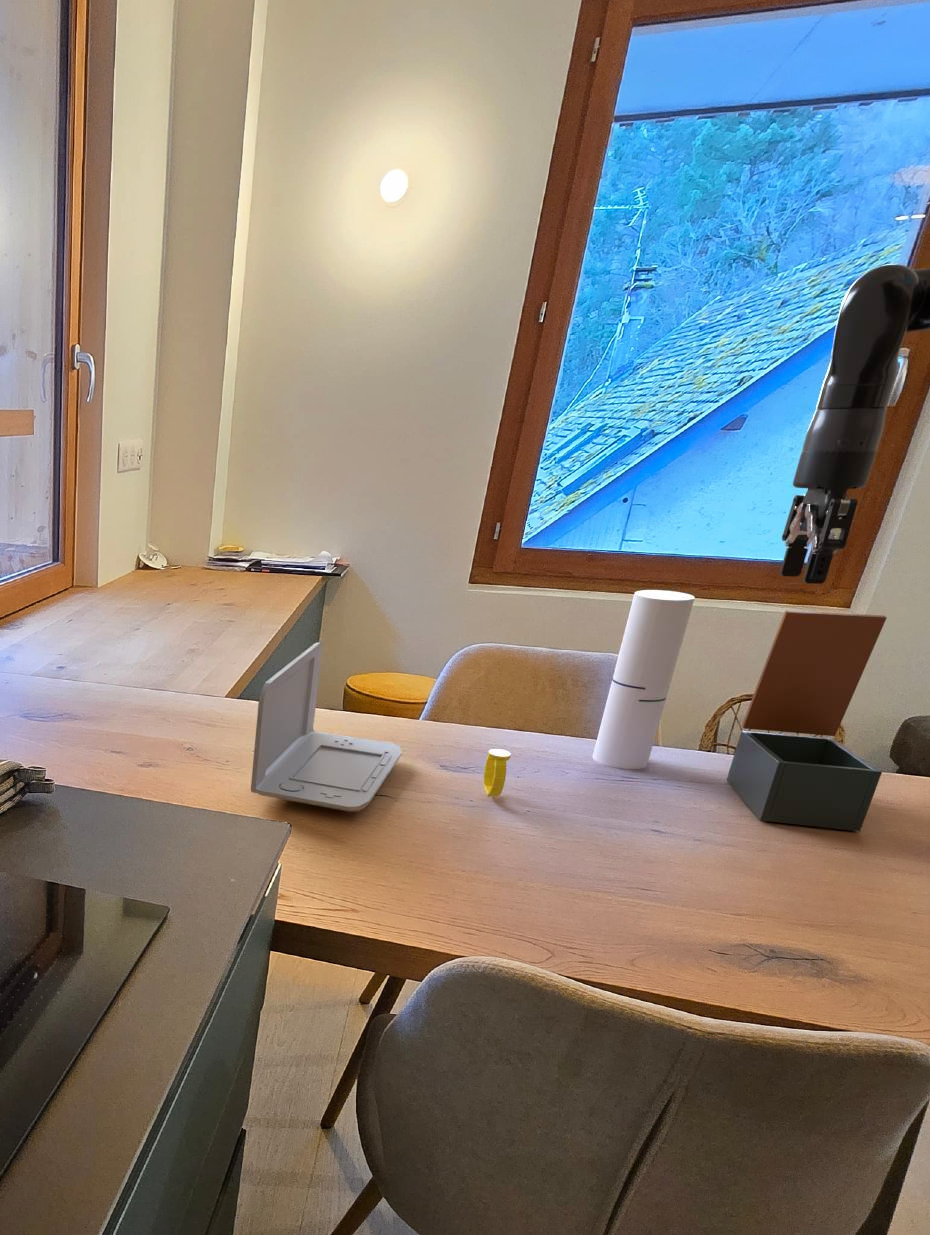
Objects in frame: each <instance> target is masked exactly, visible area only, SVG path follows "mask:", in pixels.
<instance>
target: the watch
mask: <svg viewBox="0 0 930 1235" xmlns="http://www.w3.org/2000/svg"><path fill="white" fill-rule="evenodd" d="M511 755H512V754H511V752H510V751H508V750H505V749H502V748H501V749H500V748H491V749H489V750H488V751H487V758H486V760H485V765H484V771H483V786H482V787H483V788H484V791H485V793H486V796H487V797H499V796H500V795H501V794H502V792H503V789H504V787H505V781H506V777H507V761H509V760H510V759H511Z"/></svg>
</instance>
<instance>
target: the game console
mask: <svg viewBox="0 0 930 1235" xmlns="http://www.w3.org/2000/svg"><path fill="white" fill-rule="evenodd" d="M322 656H323V645H322V643H321V642H317V641H316V642H314V644H312V645H311V646H309V647H308V648H307V649H306V650H304V651H303V652H302V653H300V654H299V655H298V656H297V657H295V659H292V661H290V662H289V663H288V664H287V665H285V666H284V667H282V669H280V670H279V671H278V672H276V673H275V674H274V675H273V676H271V677H270V678H269V679H268V680H266V681H265V682H264V684H263V686H262V688H261V691H260V695H259V697H258V698H259V699H258V705H257V715H256V718H257V719H256V727H255V736H254V738H255V739H254V750H253V761H252V771H251V772H252V773H251V781H250V792H251V793H253V794H258V795H259V796H263V797H268V798H272V799H279V800H283V801H289V802H294V803H295V802H296V803H300V804H305V805H312V806H316V807H322V808H328V809H333V810H339V811H344V812H348V813H353V812H355V813H356V812H360V811H362V810H363V809H365V808H366V807H368V805H369V804H370V803H371V801H372V799H373V798H374V797H375V796H376V794H377V792H378V791H379V790H380V788H381V787H382V785H383V783H384V782H385V780H386V779H387V778H388V776H389V774H390V773H391V772H392V770H393V769H394V767H395V765H396V764H397V763H398V761H399V760H400V758H401V757H402V755H403V750H402V748H401V745H399V744H397V743H395V742H389V741H382V740H378V739H377V740H376V739H370V738H362V737H358V736H357V737H355V736H351V735H350V736H349V735H342V734H335V733H329V732H322V731H316V730H314V725H315V724H314V723H315V716H316V707H317V701H318V700H317V698H318V691H319V683H320V682H319V680H320V674H321V673H320V672H321V665H322Z"/></svg>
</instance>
